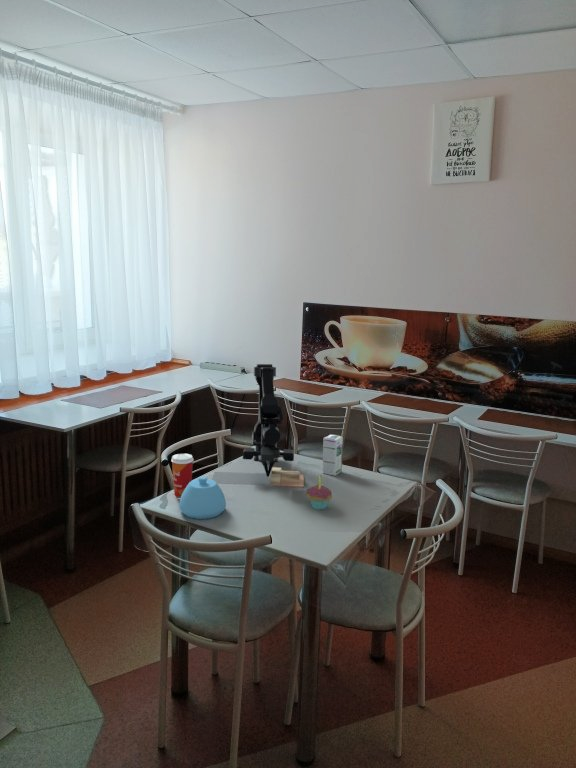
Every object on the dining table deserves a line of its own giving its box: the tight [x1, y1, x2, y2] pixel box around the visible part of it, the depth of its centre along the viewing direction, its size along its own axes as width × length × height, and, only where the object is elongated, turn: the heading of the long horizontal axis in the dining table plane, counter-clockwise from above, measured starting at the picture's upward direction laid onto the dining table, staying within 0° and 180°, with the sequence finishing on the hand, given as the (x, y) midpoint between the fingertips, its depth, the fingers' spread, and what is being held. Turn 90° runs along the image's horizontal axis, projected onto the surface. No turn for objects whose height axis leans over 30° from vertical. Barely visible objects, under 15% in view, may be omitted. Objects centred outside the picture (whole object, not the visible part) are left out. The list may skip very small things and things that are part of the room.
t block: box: [270, 466, 301, 486], centre depth 233 cm, size 10×10×3 cm
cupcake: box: [306, 474, 333, 510], centre depth 210 cm, size 9×8×12 cm
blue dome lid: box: [178, 476, 227, 520], centre depth 204 cm, size 15×15×12 cm
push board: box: [211, 471, 305, 488], centre depth 234 cm, size 12×34×1 cm, turn 89°
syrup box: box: [322, 434, 344, 476], centre depth 243 cm, size 6×6×14 cm
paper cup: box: [170, 453, 195, 499], centre depth 216 cm, size 8×8×14 cm
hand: (268, 476), depth 234 cm, fingers closed
